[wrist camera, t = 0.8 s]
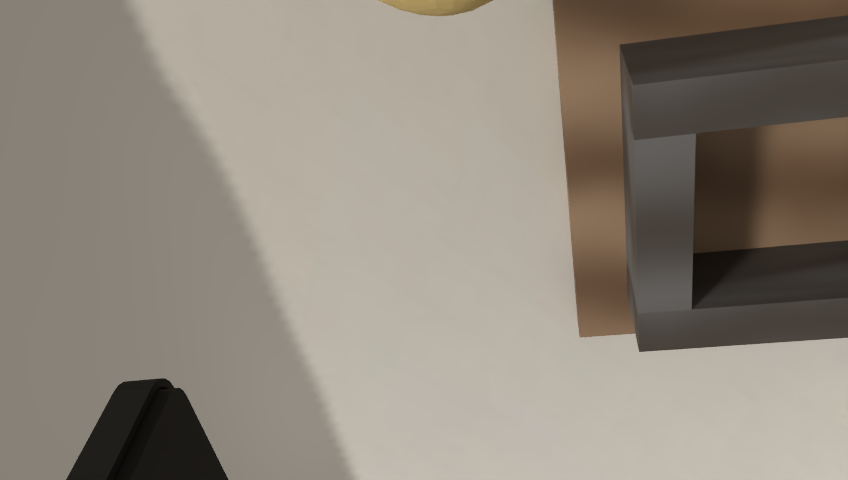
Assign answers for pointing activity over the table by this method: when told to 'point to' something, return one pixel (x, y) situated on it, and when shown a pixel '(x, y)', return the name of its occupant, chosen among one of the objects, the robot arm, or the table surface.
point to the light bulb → (436, 6)
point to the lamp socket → (706, 168)
